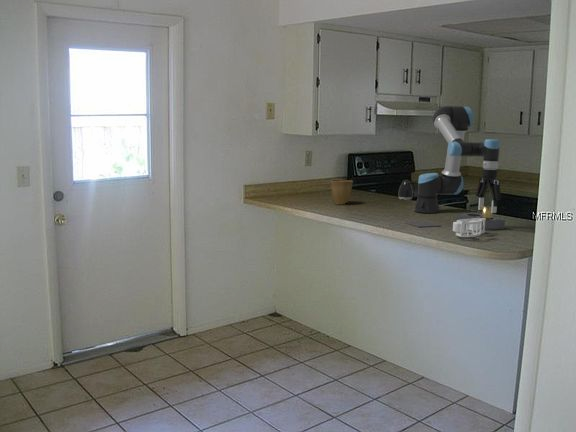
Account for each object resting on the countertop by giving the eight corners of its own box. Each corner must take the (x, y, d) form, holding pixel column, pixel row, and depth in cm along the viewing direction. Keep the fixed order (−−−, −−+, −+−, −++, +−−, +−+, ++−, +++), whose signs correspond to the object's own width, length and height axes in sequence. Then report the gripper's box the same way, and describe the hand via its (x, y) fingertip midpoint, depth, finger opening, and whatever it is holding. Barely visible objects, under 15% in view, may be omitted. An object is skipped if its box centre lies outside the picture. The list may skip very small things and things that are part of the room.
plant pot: (353, 206, 391) (354, 181, 389) (330, 205, 391) (331, 181, 389) (351, 203, 406) (352, 179, 403) (329, 202, 406) (329, 179, 404)
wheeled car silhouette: (476, 231, 307) (477, 216, 306) (493, 234, 298) (494, 220, 297) (447, 233, 298) (448, 219, 297) (464, 237, 288) (465, 222, 287)
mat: (404, 223, 327) (404, 222, 327) (426, 222, 332) (426, 221, 331) (418, 227, 314) (418, 226, 314) (441, 226, 318) (441, 225, 318)
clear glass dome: (405, 202, 414) (406, 180, 411) (394, 201, 422) (395, 179, 420) (415, 201, 420) (417, 180, 417) (404, 200, 428) (405, 178, 426)
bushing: (479, 226, 320) (480, 206, 318) (486, 226, 321) (488, 205, 319) (485, 228, 315) (486, 207, 313) (492, 228, 317) (494, 207, 315)
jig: (455, 222, 332) (456, 213, 331) (475, 221, 337) (476, 212, 336) (483, 230, 310) (484, 220, 309) (504, 229, 314) (505, 219, 313)
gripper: (470, 167, 322) (468, 208, 326) (498, 170, 302) (495, 214, 305) (482, 167, 325) (479, 208, 328) (510, 170, 304) (507, 214, 308)
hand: (487, 211), depth 317 cm, fingers open, 10 cm apart
